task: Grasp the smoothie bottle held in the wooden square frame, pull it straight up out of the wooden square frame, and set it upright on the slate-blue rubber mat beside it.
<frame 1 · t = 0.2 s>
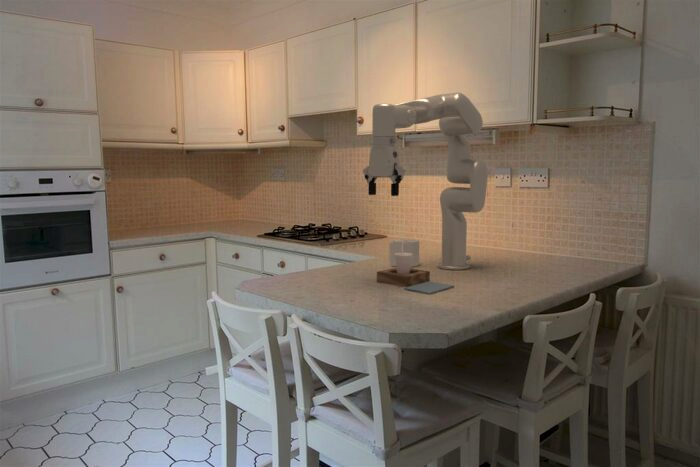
hand: (383, 195, 178), 30 cm above the worktop, tool pointing down, fingers open, 9 cm apart
mat: (429, 288, 176), on the worktop
wooden square frame: (403, 281, 187), on the worktop
toilet tissue: (405, 265, 218), on the worktop
smoothie: (403, 282, 187), resting in wooden square frame
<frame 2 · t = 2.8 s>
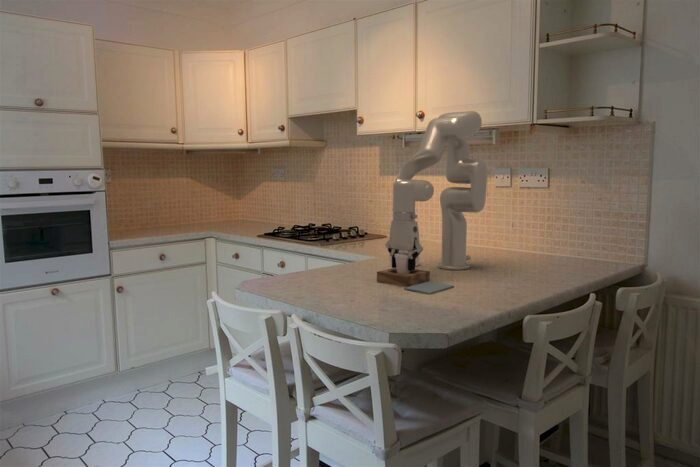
hand: (403, 268, 186), 5 cm above the worktop, tool pointing down, fingers closed on smoothie, 6 cm apart
smoothie: (403, 282, 187), resting in wooden square frame, touching gripper
everything else where it was.
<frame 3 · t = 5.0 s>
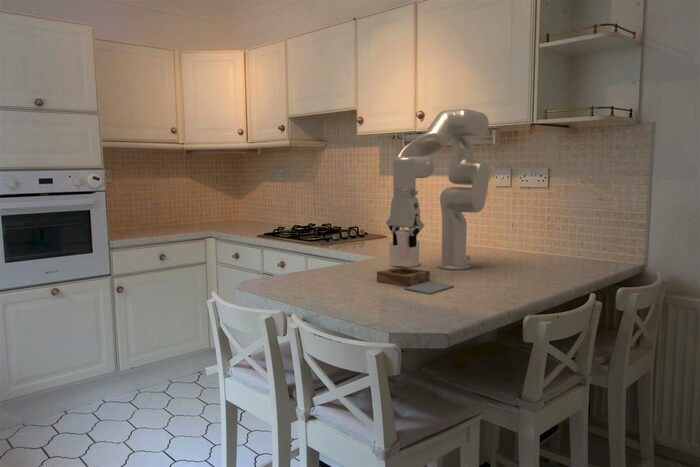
hand: (404, 245, 186), 13 cm above the worktop, tool pointing down, fingers closed on smoothie, 6 cm apart
smoothie: (404, 259, 186), point 8 cm above the worktop, touching gripper
everything else where it was.
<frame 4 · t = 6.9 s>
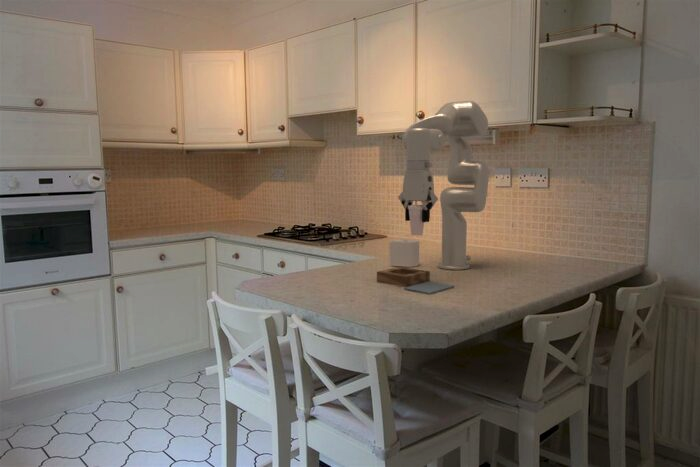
hand: (417, 220, 178), 22 cm above the worktop, tool pointing down, fingers closed on smoothie, 6 cm apart
smoothie: (416, 235, 179), point 17 cm above the worktop, touching gripper
everything else where it was.
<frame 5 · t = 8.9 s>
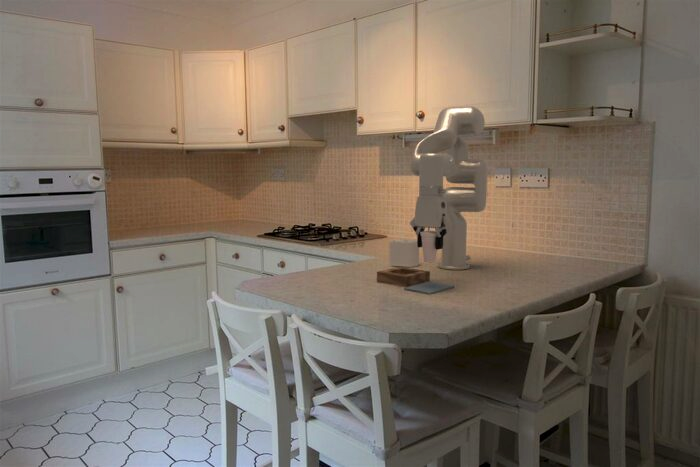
hand: (429, 247, 174), 14 cm above the worktop, tool pointing down, fingers closed on smoothie, 6 cm apart
smoothie: (429, 262, 174), point 9 cm above the worktop, touching gripper
everything else where it was.
when the fingers open (6 cm above the worktop, at t = 10.8 s): smoothie stays where it is, resting on mat.
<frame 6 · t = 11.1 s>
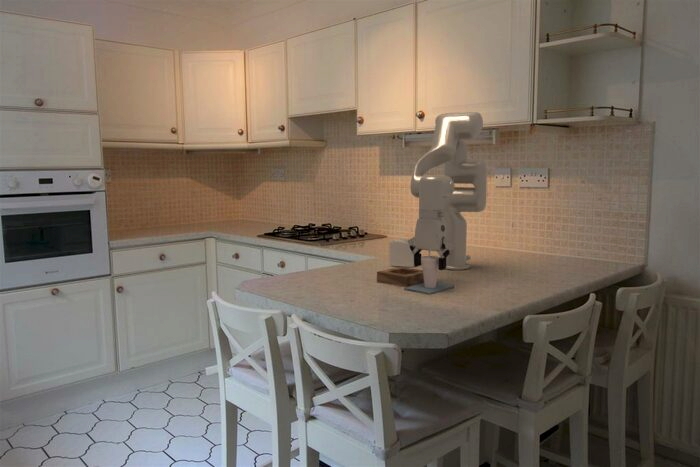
hand: (429, 267, 175), 7 cm above the worktop, tool pointing down, fingers open, 9 cm apart
smoothie: (430, 287, 175), resting on mat
everything else where it was.
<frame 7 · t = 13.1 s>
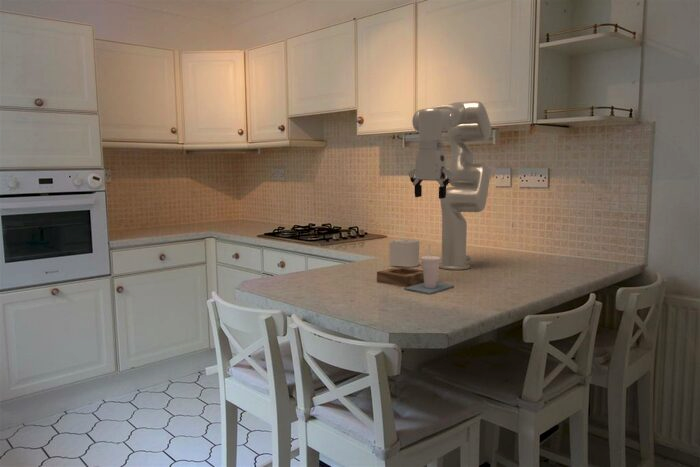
hand: (430, 197, 183), 29 cm above the worktop, tool pointing down, fingers open, 9 cm apart
nothing on the worktop moved.
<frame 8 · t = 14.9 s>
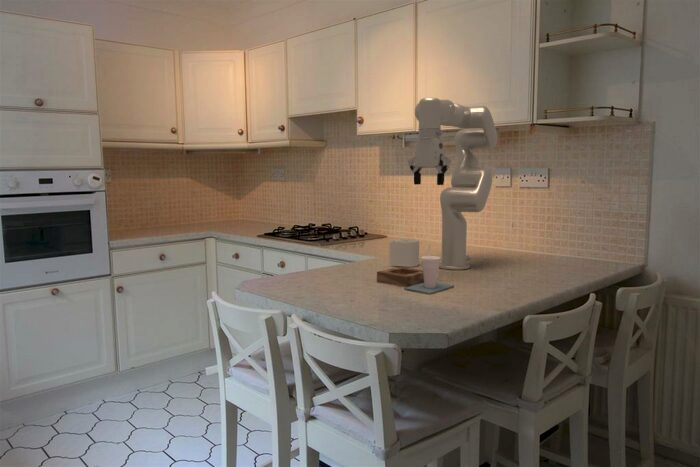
hand: (428, 184, 188), 33 cm above the worktop, tool pointing down, fingers open, 9 cm apart
nothing on the worktop moved.
at the end: smoothie inside the target area (0.4 cm from its centre), resting on mat; smoothie tilted 0°; the gripper is holding nothing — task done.
